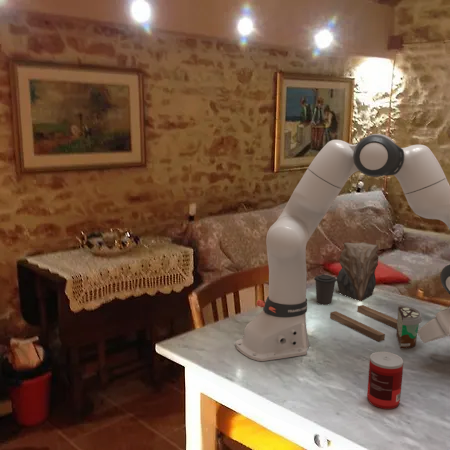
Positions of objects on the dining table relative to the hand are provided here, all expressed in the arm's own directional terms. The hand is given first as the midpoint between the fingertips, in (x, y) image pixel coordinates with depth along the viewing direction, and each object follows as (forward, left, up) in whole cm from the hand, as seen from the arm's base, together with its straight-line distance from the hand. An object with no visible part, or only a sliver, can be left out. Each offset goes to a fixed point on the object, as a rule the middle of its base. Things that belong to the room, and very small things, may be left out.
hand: (431, 337), depth 150 cm
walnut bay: (0, +24, -5) cm, 24 cm away
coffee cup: (+1, +48, -5) cm, 48 cm away
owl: (+17, +48, -5) cm, 51 cm away
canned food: (-32, -12, -5) cm, 34 cm away
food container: (0, +8, -5) cm, 9 cm away
